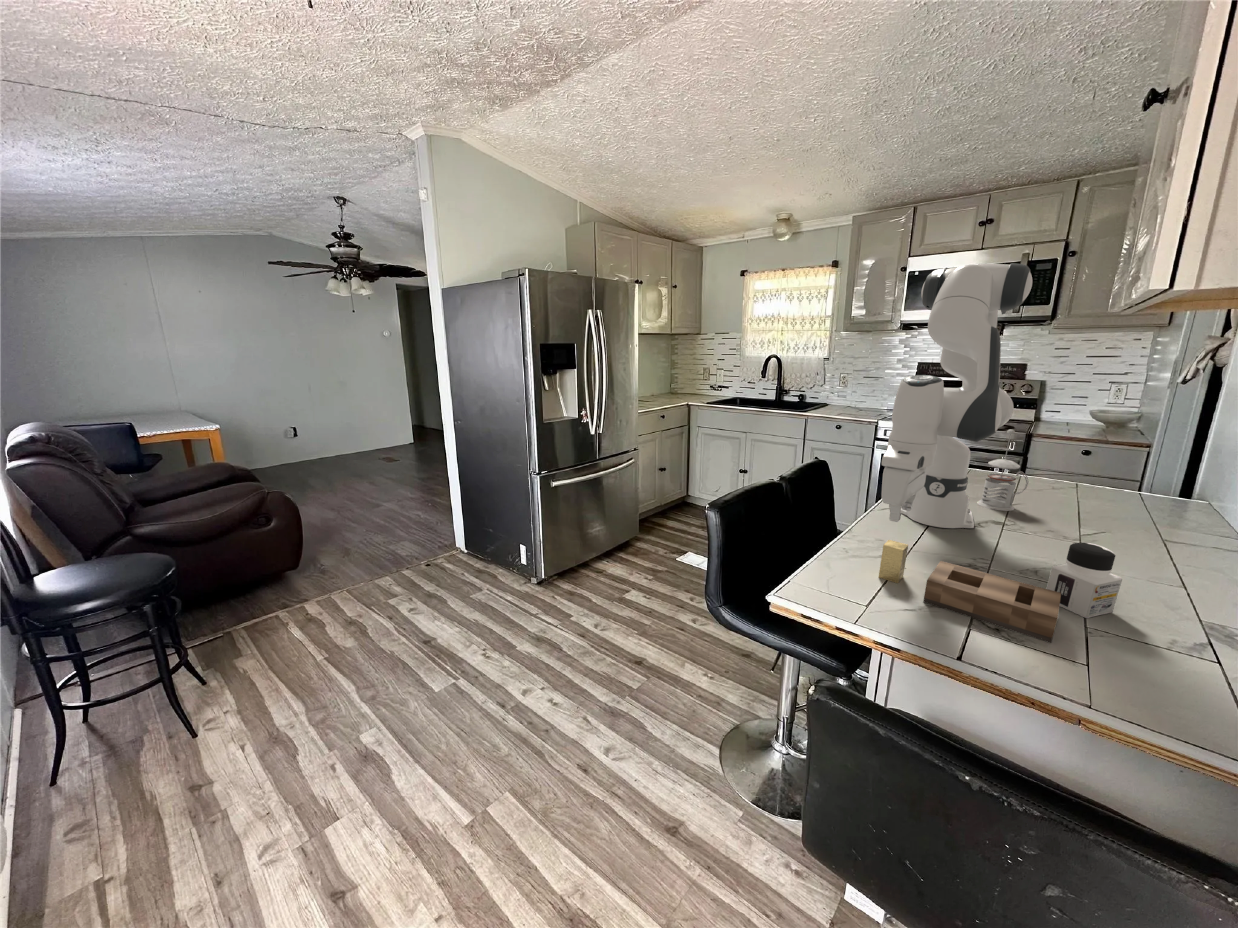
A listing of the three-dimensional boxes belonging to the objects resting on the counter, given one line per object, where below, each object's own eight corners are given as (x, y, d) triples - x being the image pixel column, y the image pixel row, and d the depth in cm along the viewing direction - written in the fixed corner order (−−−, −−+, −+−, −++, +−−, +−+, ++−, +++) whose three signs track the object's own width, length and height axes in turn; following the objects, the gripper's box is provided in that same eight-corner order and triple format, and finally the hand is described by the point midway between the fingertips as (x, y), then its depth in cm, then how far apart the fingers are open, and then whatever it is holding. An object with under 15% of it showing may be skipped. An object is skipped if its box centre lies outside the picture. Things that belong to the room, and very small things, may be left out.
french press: (981, 498, 163) (996, 425, 157) (1025, 507, 154) (1043, 430, 148) (972, 504, 157) (987, 429, 151) (1017, 514, 148) (1035, 434, 142)
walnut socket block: (936, 581, 108) (940, 560, 107) (1055, 615, 95) (1061, 592, 93) (923, 601, 100) (927, 579, 98) (1051, 642, 86) (1057, 618, 85)
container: (1086, 619, 94) (1103, 557, 90) (1042, 598, 101) (1057, 541, 98) (1113, 612, 96) (1131, 552, 92) (1068, 593, 103) (1083, 536, 100)
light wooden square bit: (883, 571, 113) (888, 539, 111) (903, 577, 110) (908, 544, 108) (878, 577, 110) (883, 544, 108) (897, 583, 107) (903, 550, 105)
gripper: (907, 444, 112) (898, 501, 115) (879, 458, 97) (870, 523, 101) (938, 448, 108) (928, 507, 111) (914, 464, 93) (904, 531, 97)
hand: (900, 515), depth 106 cm, fingers open, 8 cm apart
